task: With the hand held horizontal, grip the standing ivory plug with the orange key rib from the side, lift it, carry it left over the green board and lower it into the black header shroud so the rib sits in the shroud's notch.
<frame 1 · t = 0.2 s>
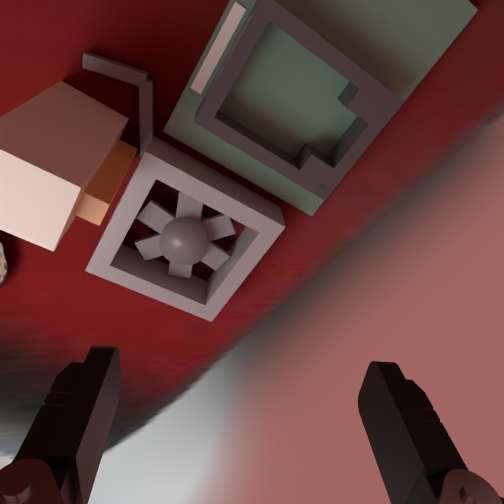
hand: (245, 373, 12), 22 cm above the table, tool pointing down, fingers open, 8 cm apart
fan: (186, 227, 35), on the table
header board: (308, 71, 28), on the table
plug: (85, 126, 29), on the table
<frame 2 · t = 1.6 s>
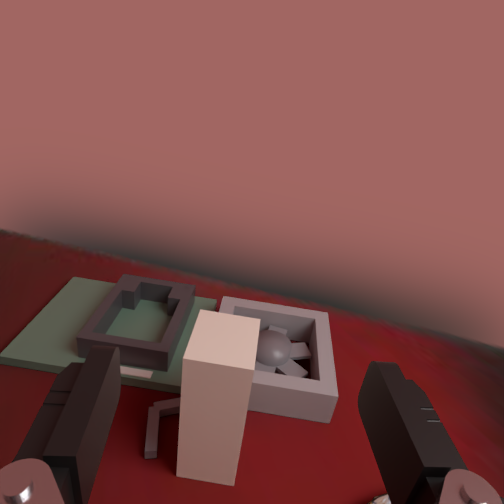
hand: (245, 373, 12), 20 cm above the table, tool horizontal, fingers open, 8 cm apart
fan: (267, 364, 41), on the table
header board: (123, 331, 42), on the table
plug: (211, 450, 32), on the table
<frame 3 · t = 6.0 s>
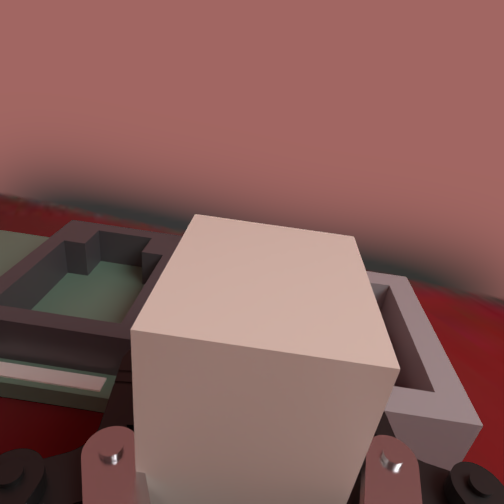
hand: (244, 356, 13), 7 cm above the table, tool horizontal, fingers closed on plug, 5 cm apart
fan: (315, 363, 23), on the table
header board: (65, 309, 25), on the table
when the fingers open (9 cm above the table, at t = 10.5 s): plug drops 1 cm, resting on header board.
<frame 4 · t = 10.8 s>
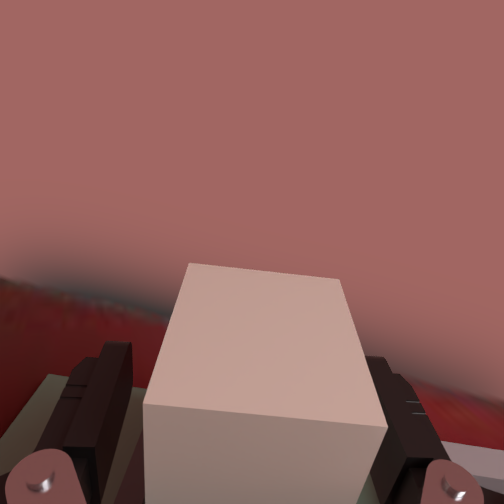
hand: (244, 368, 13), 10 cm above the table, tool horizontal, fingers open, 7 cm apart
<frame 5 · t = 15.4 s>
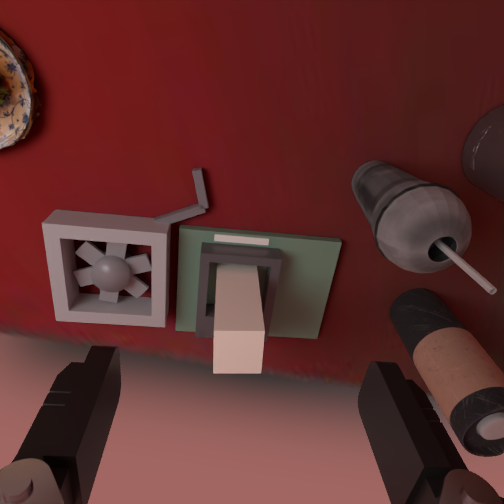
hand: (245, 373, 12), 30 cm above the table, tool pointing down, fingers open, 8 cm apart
fan: (116, 263, 44), on the table
travel mug: (413, 307, 50), on the table
beverage cup: (372, 180, 42), on the table
header board: (254, 284, 47), on the table
plug: (236, 280, 45), point 1 cm above the table, touching header board
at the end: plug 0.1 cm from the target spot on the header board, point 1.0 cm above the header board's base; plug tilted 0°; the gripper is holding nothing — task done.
